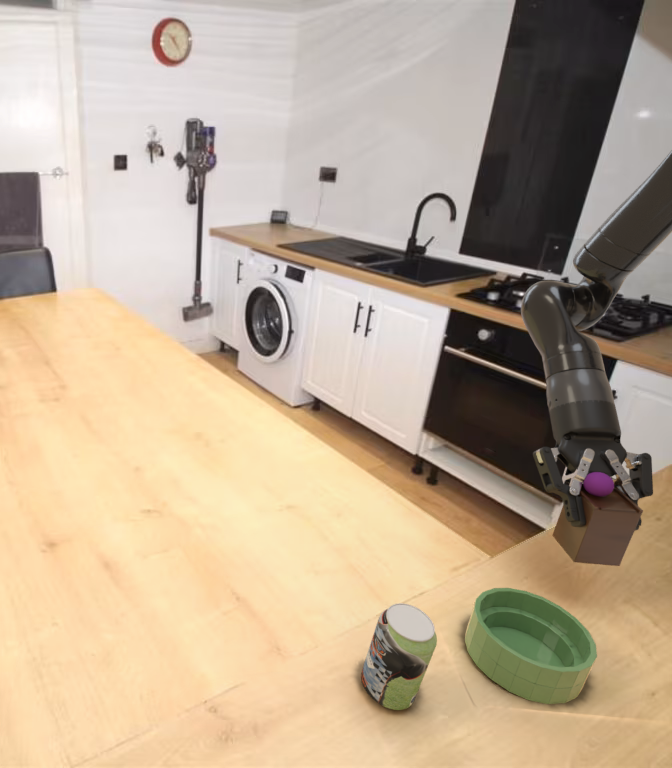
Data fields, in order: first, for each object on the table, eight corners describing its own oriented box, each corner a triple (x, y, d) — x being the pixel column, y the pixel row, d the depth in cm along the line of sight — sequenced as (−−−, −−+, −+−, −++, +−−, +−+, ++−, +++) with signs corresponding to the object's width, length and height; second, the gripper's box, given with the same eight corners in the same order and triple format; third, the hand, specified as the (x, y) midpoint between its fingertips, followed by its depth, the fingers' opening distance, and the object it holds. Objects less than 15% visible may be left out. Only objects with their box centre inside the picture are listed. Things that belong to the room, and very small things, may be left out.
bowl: (534, 620, 73) (546, 586, 71) (606, 706, 62) (625, 669, 60) (445, 622, 73) (455, 588, 71) (502, 710, 62) (516, 673, 59)
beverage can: (373, 662, 68) (382, 584, 64) (435, 698, 63) (448, 614, 59) (349, 694, 64) (357, 611, 60) (413, 734, 59) (426, 647, 55)
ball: (608, 487, 73) (600, 465, 73) (623, 496, 70) (615, 473, 69) (582, 494, 73) (574, 472, 73) (595, 503, 70) (588, 480, 70)
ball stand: (552, 535, 77) (570, 482, 74) (594, 538, 77) (615, 485, 73) (573, 562, 72) (595, 507, 69) (619, 566, 72) (643, 510, 68)
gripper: (541, 395, 74) (562, 519, 68) (656, 401, 73) (689, 529, 67) (513, 412, 81) (530, 527, 75) (618, 418, 80) (644, 536, 73)
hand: (604, 527), depth 71 cm, fingers closed on ball stand, 5 cm apart
